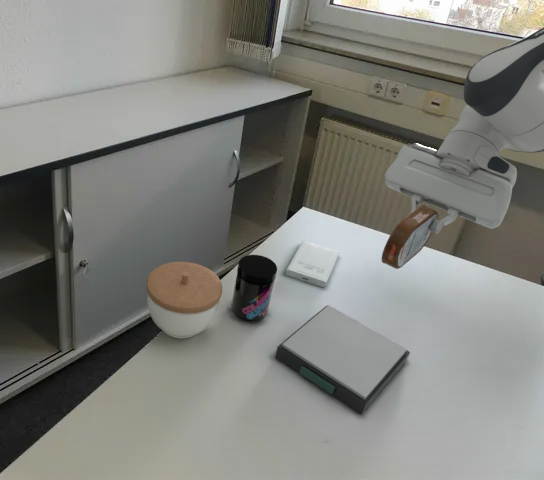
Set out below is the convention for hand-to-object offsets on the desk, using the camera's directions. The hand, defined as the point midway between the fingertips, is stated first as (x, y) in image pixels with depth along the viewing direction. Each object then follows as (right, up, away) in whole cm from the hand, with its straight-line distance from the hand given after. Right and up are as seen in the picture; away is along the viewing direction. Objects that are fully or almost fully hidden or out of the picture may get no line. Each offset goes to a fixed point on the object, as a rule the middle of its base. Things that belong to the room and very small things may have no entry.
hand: (422, 226), depth 93 cm
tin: (-3, -6, 0) cm, 6 cm away
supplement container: (-29, -16, +6) cm, 34 cm away
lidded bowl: (-42, -17, +2) cm, 45 cm away
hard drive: (-14, -8, +21) cm, 26 cm away
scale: (-15, -22, -2) cm, 27 cm away
